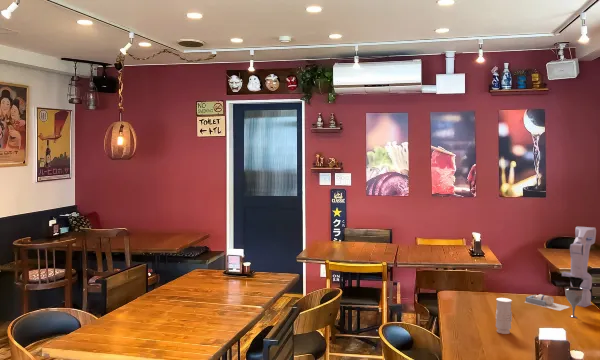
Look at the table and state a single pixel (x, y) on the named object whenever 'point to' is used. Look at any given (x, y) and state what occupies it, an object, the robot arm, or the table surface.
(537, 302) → the cradle
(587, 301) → the robot arm
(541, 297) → the bottle
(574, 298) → the wine glass
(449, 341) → the table surface
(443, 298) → the table surface
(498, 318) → the candle
